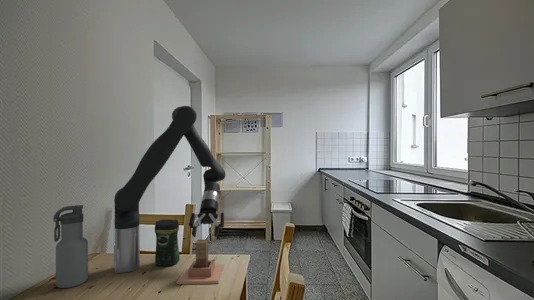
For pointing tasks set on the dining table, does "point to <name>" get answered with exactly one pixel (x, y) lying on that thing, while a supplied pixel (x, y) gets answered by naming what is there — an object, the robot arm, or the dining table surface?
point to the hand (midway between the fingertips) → (204, 236)
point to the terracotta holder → (201, 274)
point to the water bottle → (70, 248)
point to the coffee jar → (166, 242)
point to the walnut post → (202, 253)
